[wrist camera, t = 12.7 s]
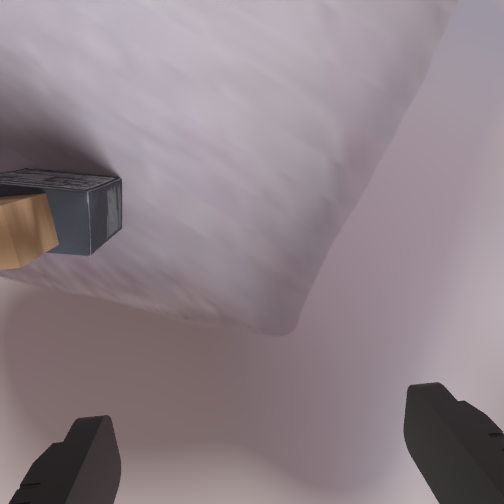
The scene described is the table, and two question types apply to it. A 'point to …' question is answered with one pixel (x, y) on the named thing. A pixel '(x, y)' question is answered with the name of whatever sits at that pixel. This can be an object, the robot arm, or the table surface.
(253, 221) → the table surface
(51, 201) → the small box
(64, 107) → the table surface
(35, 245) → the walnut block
